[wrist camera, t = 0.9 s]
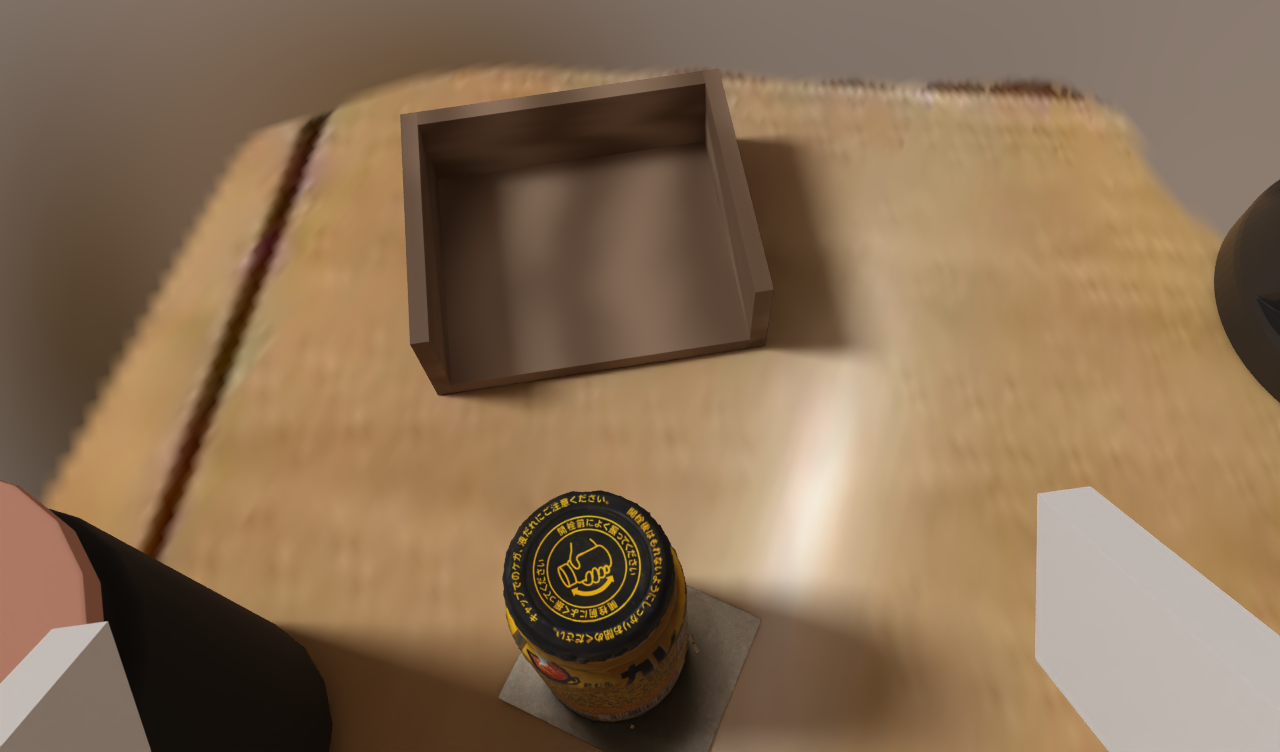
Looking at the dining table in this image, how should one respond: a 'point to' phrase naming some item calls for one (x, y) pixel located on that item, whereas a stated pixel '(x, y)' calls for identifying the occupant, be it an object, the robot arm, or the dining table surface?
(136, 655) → the coffee jar
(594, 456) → the dining table surface
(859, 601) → the dining table surface
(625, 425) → the dining table surface
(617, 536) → the condiment
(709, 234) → the caddy
